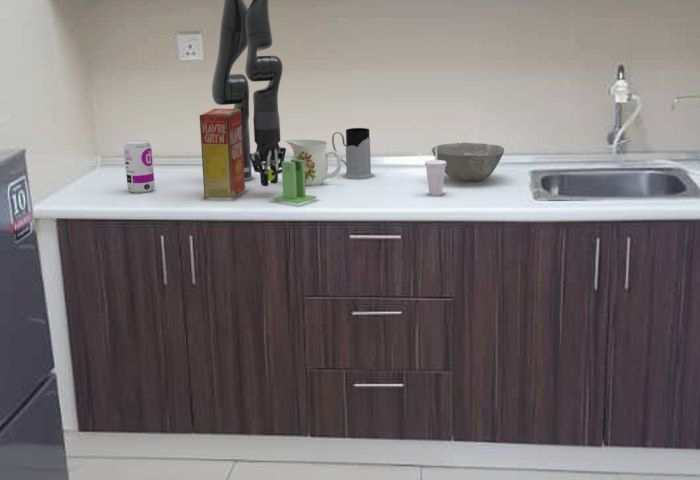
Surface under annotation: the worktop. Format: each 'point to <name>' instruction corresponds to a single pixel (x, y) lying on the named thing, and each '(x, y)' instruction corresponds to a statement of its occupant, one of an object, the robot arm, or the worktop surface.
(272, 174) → the switch lever
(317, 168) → the pitcher
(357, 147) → the glass holder
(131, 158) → the supplement can
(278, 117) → the robot arm
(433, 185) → the smoothie
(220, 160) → the food packaging
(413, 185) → the worktop surface
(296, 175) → the green crank stand
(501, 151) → the ceramic bowl
